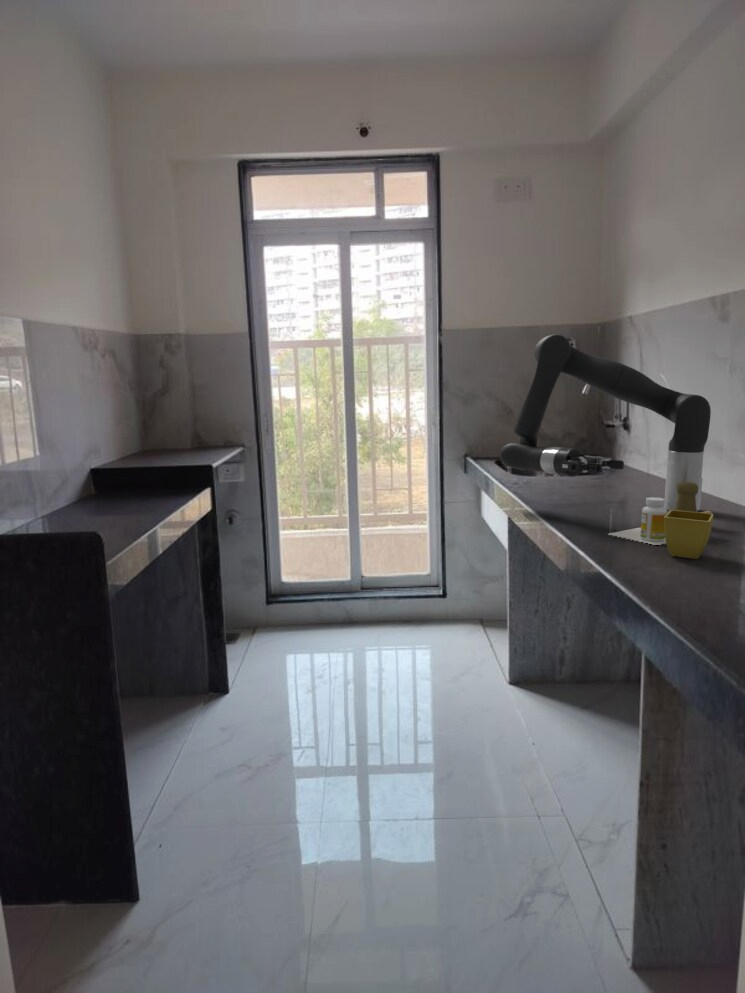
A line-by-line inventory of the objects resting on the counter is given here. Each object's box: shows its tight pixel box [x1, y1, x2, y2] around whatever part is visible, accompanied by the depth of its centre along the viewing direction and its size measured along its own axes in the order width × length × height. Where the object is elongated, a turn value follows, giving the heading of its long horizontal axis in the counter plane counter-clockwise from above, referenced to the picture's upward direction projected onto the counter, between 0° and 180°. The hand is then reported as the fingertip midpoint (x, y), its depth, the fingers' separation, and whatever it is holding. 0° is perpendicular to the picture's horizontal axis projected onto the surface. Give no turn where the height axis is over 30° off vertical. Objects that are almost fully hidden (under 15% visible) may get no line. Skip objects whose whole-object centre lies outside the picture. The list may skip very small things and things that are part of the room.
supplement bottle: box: [640, 496, 668, 542], centre depth 154 cm, size 5×5×10 cm
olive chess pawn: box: [675, 482, 698, 512], centre depth 172 cm, size 6×6×11 cm
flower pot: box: [664, 510, 715, 560], centre depth 141 cm, size 9×9×9 cm
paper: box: [607, 526, 666, 546], centre depth 160 cm, size 18×13×1 cm
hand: (612, 466), depth 165 cm, fingers open, 8 cm apart
